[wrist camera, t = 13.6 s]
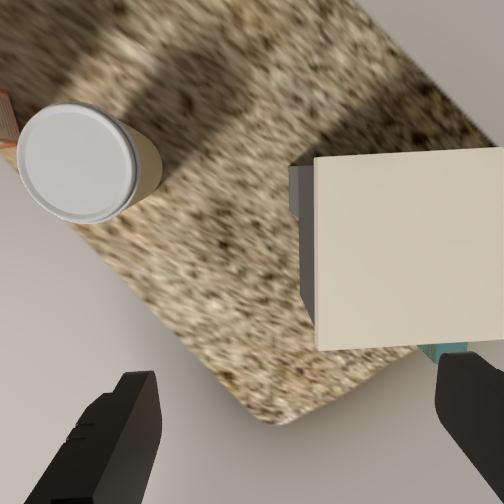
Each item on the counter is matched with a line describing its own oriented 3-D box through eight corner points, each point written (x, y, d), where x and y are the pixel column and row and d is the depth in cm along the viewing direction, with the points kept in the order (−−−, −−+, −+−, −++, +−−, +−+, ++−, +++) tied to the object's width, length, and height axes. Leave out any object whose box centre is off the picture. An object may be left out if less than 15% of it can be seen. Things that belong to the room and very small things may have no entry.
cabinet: (283, 162, 37) (317, 157, 20) (432, 154, 37) (588, 142, 20) (287, 283, 40) (318, 364, 24) (422, 275, 41) (547, 349, 24)
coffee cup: (117, 102, 35) (53, 69, 23) (187, 160, 36) (160, 157, 25) (70, 171, 36) (-12, 173, 25) (139, 224, 38) (93, 248, 26)
